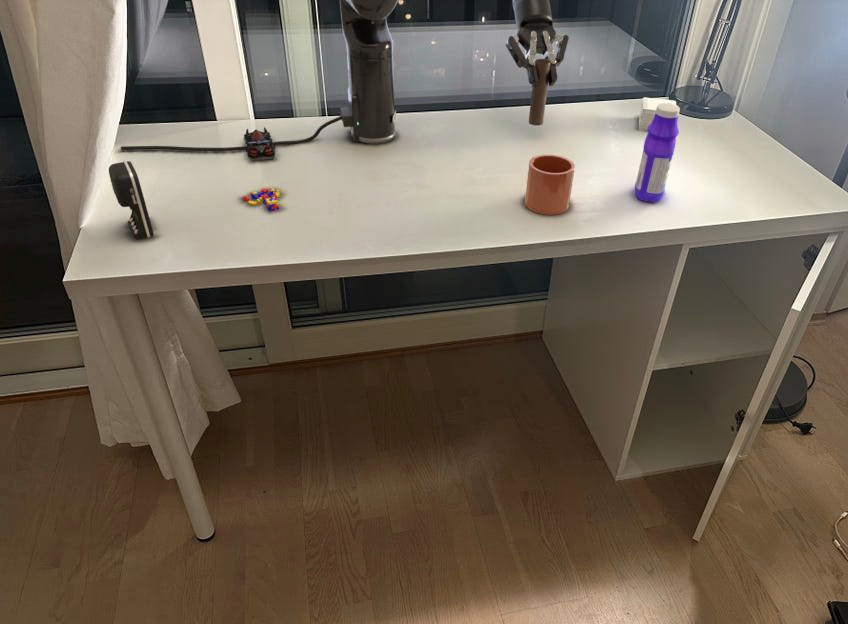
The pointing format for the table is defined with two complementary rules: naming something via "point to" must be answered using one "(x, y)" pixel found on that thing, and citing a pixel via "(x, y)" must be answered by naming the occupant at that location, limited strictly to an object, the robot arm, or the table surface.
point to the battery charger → (131, 197)
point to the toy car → (259, 145)
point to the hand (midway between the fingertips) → (543, 84)
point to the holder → (549, 184)
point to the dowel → (539, 93)
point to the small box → (649, 111)
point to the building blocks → (270, 202)
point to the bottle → (657, 153)
